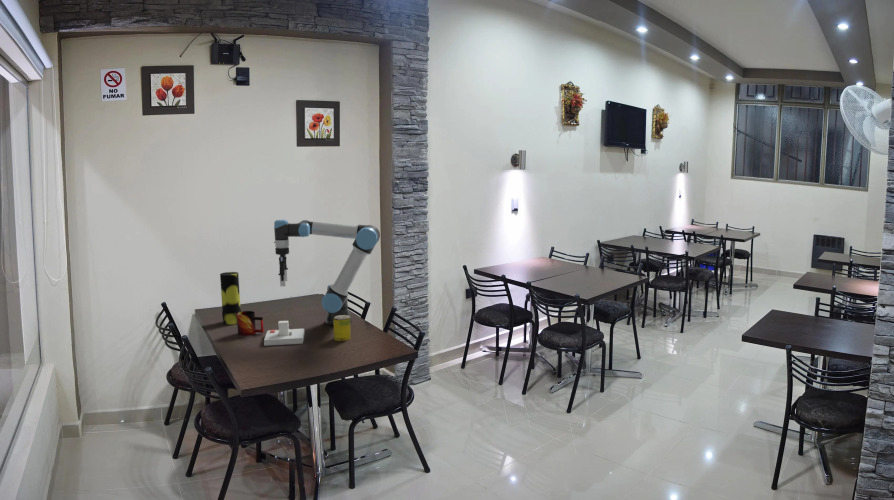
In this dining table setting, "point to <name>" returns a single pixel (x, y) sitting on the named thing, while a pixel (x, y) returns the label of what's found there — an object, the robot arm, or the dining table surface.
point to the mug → (248, 323)
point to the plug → (283, 328)
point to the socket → (284, 337)
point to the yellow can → (342, 328)
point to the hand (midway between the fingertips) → (283, 283)
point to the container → (230, 297)
